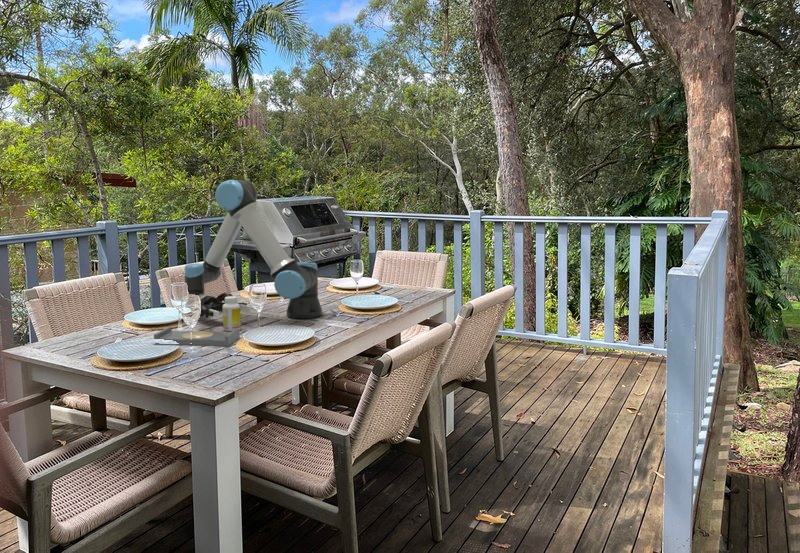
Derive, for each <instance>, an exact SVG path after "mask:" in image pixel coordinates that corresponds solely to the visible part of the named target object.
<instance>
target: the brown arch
mask: <svg viewBox="0 0 800 553" xmlns="http://www.w3.org/2000/svg"><path fill="white" fill-rule="evenodd" d="M228 296H233V294H232V293H227V292H222V293H221V294H219V295H218V296H215V298H217V299H218V300H219V302H225V297H228Z"/></svg>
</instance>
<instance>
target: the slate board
mask: <svg viewBox="0 0 800 553" xmlns="http://www.w3.org/2000/svg"><path fill="white" fill-rule="evenodd" d="M172 329H173V327H172V326H167V327H165V328H163V329H162V330H160V331H158V332H156V333H154V334H153V340H154V339H164V340H173V341H176V342H177V343H179V344H180V345H179V346H201V347H202V346H203V347H204V346H205V347H208V346H209V347H230V346H231V345H232V344H234V343H235V342H236V341H237V340H239V339H240V336H241V335H240V330H239V329H237V328H236V329H235V330H233V331H206V330H196V331H193V330H192V340H191V338H190V330H189V331H187V330H172ZM190 343H192V345H190Z"/></svg>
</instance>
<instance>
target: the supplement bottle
mask: <svg viewBox="0 0 800 553" xmlns="http://www.w3.org/2000/svg"><path fill="white" fill-rule="evenodd" d="M237 302H238V297H237V296H235V295H234V296H228V297H225V304H224V305H223V307H222V308H223V311H222V323H223V325H222V326H223V331H224V332H232V331H233V330H235V329H236V328H237V329H239V331H240V330H241V329H242V318H241V311H240V304H238V303H239V302H238V303H237Z"/></svg>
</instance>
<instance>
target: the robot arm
mask: <svg viewBox="0 0 800 553" xmlns="http://www.w3.org/2000/svg"><path fill="white" fill-rule="evenodd" d="M214 196H215V202H216V204H217V206H218V207H219V208H221V209H222V210H224V211H226V212H227V213H226V215H225V217H224V219H223V221H222V224H221V226H220V227H219V229H218V231H217V234H216V236H215V238H214V240H213V241H212V244H211V246H210V249H209V250H208V253H207V255H206V257H205V258H204V261H203V263H194V262H193V263H187V264H185V266H184V284H185V283H187V285H188V292H189V294H195V295H198V296H199V297H200V300H201V314H200V313H199V315H200V317H204V316H205V319H209V317H211V318H213V319H216V320H219V319H221V317H220V315H221V312H223V308H222V307H223V305H224V304H225V302H224V301H222V302H219V300H218V299H217V298H216V296H212V295H209V294H206V293H205V284H209V283H211V282H215V281H216V280H218V279H220V277H221V274H222V267H223V264H224V263H225V260H226V259H227V256H228V254H229V252H230V250H231V248H232V246H233V244H234V242H235V240H236V238H237V236H238V234H239V232H240V230H241V228H243V229H244V231H245V233H246V234H247V236H248V237H249V238H250V240H251V241H252V243H253V245H254V246H255V247H256V249H257V250H258V252H259V254H260V255H261V257H263V259H264V261H265V263H266V264H267V266H268V267H269V269H270V276H271V278H272V280H273V281H274V284H273V286H274V288H275V289H274V290H275V291H276V293H277V294H278V295H279V296H280V297H282V298H284V299H287V300H289V301H288V305H287V308H286V317H287V316H288V318H289V317H293V318H292V319H294V318H311V319H314V318H313V317H317V318H319V317H318V316H320V317H322V316H323V309H322V306H321V302H320V300H319V295H318V294H319V285H318V283H319V282H318V281H319V280H318V278H319V277H318V276H319V275H318V273H319V269H318V264H317V263H316V262H301V261H299V262H297V260H296V259H295V258H291V257H289V255H288V254H287V252H286V251H285V248H283V247H282V244H281V243H280V242H279V240H278V239H277V237H276V236H275V235H274V233H273V231H272V230H271V229H270V227H269V225H268V224H267V223H266V221H265V220H264V218H263V217H262V215H261V214H260V212H259V211H258V210H257V207H258V206H257V205H258V203H257V199H258V191H257V188H256V186H255V185H254V184H253V183H252V182H250V181H248V180H246V179H237V180H236V179H229V180H225V181H222V182H220V184H219V185H218V186H217V187H216V190H215V195H214ZM237 303H238V304H240V312H241V313H246V314H252V306H250V305H248V304H247V302H243V301H242V302H238V301H237ZM321 315H322V316H321Z"/></svg>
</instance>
